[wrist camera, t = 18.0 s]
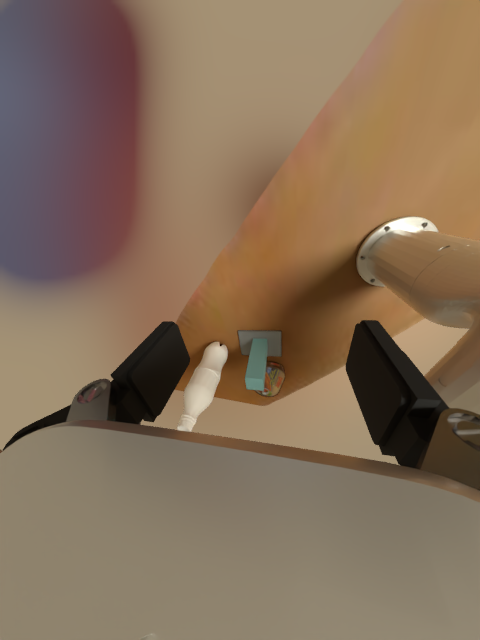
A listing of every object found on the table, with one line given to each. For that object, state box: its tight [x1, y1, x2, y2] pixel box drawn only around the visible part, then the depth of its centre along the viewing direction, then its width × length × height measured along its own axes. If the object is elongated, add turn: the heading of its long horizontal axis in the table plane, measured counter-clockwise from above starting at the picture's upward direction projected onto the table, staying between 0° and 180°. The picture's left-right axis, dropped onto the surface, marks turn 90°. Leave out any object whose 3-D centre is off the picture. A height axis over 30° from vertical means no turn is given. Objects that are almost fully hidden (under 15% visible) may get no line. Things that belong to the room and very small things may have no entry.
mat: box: [238, 330, 281, 357], centre depth 53 cm, size 12×9×1 cm
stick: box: [245, 339, 268, 391], centre depth 47 cm, size 4×4×14 cm
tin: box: [255, 362, 285, 397], centre depth 59 cm, size 15×3×8 cm
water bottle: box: [177, 342, 228, 432], centre depth 47 cm, size 7×7×25 cm
